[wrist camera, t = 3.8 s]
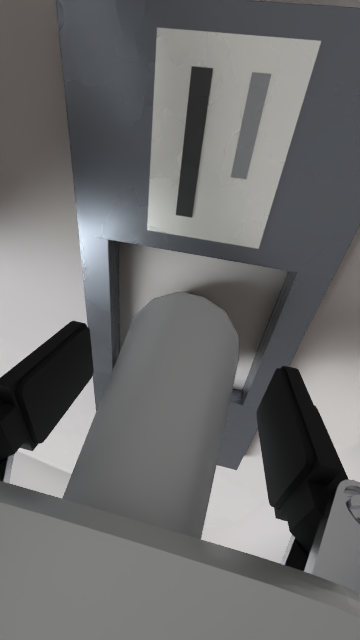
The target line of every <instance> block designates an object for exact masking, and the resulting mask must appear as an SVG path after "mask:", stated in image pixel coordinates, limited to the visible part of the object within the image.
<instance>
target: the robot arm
mask: <svg viewBox="0 0 360 640" xmlns="http://www.w3.org/2000/svg"><path fill="white" fill-rule="evenodd" d="M93 372H94V368H93V358H92V347H91V336H90V329H89V328H88V327H87V325H86V324H85V323H81V322H76V321H72V322H70V323H69V324H67V325H66V326H65V327H64V328H62V329H61V330H60V331H59V332H57V333H56V334H55V335H54V336H52V337H51V338H50V339H49V340H47V341H46V342H45V343H44V344H42V345H41V346H40V347H38V348H37V349H36V350H35V351H33V352H32V353H31V354H30V355H28V356H27V357H26V358H25V359H23V360H22V361H21V362H20V363H18V364H17V365H16V366H15V367H13V368H12V369H11V370H10V371H8V372H7V373H6V374H5V375H3V376H2V377H1V378H0V640H360V482H357V481H354V480H349V479H348V477H347V475H346V473H345V470H344V468H343V466H342V464H341V461H340V459H339V457H338V455H337V452H336V450H335V448H334V445H333V443H332V441H331V439H330V436H329V434H328V432H327V430H326V427H325V425H324V423H323V421H322V418H321V416H320V414H319V412H318V410H317V408H316V406H314V405H313V402H312V400H311V398H310V396H309V393H308V391H307V389H306V386H305V384H304V382H303V379H302V377H301V375H300V372H299V370H298V369H296V368H292V367H287V366H282V367H281V368H277V369H276V370H275V372H274V374H273V377H272V379H271V381H270V383H269V385H268V387H267V389H266V392H265V394H264V396H263V398H262V400H261V402H260V404H259V407H258V409H257V424H258V430H259V437H260V444H261V451H262V458H263V465H264V472H265V478H266V485H267V492H268V499H269V503H270V505H271V506H272V507H274V509H275V516H276V518H277V519H281V520H284V521H288V525H289V530H290V532H291V533H292V536H291V538H290V541H289V544H288V546H287V548H286V551H285V554H284V556H283V558H282V561H281V563H280V564H279V563H276V562H273V561H269V560H267V559H263V558H260V557H257V556H254V555H250V554H248V553H244V552H241V551H237V550H234V549H231V548H227V547H224V546H221V545H217V544H214V543H211V542H207V541H204V540H201V539H197V538H194V537H191V536H187V535H184V534H181V533H177V532H174V531H171V530H167V529H164V528H160V527H157V526H154V525H150V524H147V523H143V522H140V521H137V520H133V519H130V518H126V517H123V516H120V515H116V514H113V513H109V512H106V511H103V510H99V509H96V508H92V507H89V506H85V505H82V504H79V503H75V502H72V501H68V500H65V499H61V498H58V497H54V496H51V495H47V494H44V493H40V492H37V491H33V490H30V489H26V488H23V487H19V486H16V485H13V484H9V481H10V475H11V469H12V463H13V457H14V454H15V453H16V451H17V450H18V449H19V448H23V449H27V450H31V451H33V450H34V449H35V447H36V446H37V445H38V443H42V442H44V440H45V439H46V438H47V437H48V435H49V434H50V433H51V431H52V430H53V429H54V427H55V426H56V425H57V423H58V422H59V421H60V419H61V418H62V417H63V415H64V414H65V413H66V411H67V410H68V409H69V407H70V406H71V405H72V403H73V402H74V401H75V399H76V398H77V396H78V395H79V394H80V392H81V391H82V390H83V388H84V387H85V386H86V384H87V383H88V382H89V380H90V379H91V378H92V376H93Z"/></svg>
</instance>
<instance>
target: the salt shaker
mask: <svg viewBox="0 0 360 640" xmlns="http://www.w3.org/2000/svg"><path fill="white" fill-rule="evenodd" d="M238 360H239V337H238V334H237V332H236V330H235V328H234V326H233V324H232V323H231V321H230V319H229V317H228V315H227V313H226V311H224V310H223V309H221V308H220V307H218V306H217V305H215V304H214V303H212V302H211V301H209V300H208V299H206V298H205V297H202V296H197V295H191V294H189V293H186V292H176V293H172V294H169V295H165V296H161V297H157V298H154V299H153V300H151V301H150V302H149V303H148V304H147V305H146V306H145V307H144V308H143V309H142V310H141V311H139V312H138V313H137V314H136V315H135V316H134V317H133V320H132V322H131V325H130V327H129V330H128V333H127V335H126V338H125V340H124V343H123V345H122V348H121V350H120V353H119V356H118V358H117V361H116V363H115V366H114V368H113V371H112V373H111V376H110V378H109V381H108V384H107V386H106V389H105V391H104V394H103V396H102V399H101V401H100V404H99V407H98V409H97V412H96V414H95V417H94V419H93V422H92V424H91V427H90V429H89V432H88V435H87V437H86V440H85V442H84V445H83V447H82V450H81V452H80V455H79V457H78V460H77V463H76V465H75V468H74V470H73V473H72V475H71V478H70V480H69V483H68V486H67V488H66V491H65V493H64V496H63V498H62V499H65V500H68V501H72V502H75V503H79V504H82V505H85V506H89V507H92V508H96V509H99V510H103V511H106V512H109V513H113V514H116V515H120V516H123V517H126V518H130V519H133V520H137V521H140V522H143V523H147V524H150V525H154V526H157V527H160V528H164V529H167V530H171V531H174V532H177V533H181V534H184V535H187V536H191V537H194V538H197V539H201V535H202V530H203V526H204V521H205V517H206V512H207V507H208V502H209V498H210V493H211V488H212V483H213V479H214V474H215V469H216V464H217V460H218V455H219V450H220V445H221V441H222V436H223V431H224V427H225V422H226V417H227V412H228V408H229V403H230V398H231V393H232V389H233V384H234V379H235V374H236V370H237V365H238Z"/></svg>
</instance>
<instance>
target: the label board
mask: <svg viewBox="0 0 360 640" xmlns="http://www.w3.org/2000/svg"><path fill="white" fill-rule="evenodd" d="M56 6H57V16H58V26H59V37H60V47H61V57H62V67H63V77H64V88H65V98H66V108H67V118H68V128H69V138H70V149H71V159H72V169H73V179H74V189H75V200H76V210H77V220H78V230H79V240H80V250H81V261H82V271H83V281H84V291H85V301H86V312H87V322H88V328H89V329H90V336H91V347H92V358H93V368H94V372H93V383H94V393H95V403H96V412H97V409H98V407H99V404H100V401H101V399H102V396H103V394H104V391H105V389H106V386H107V384H108V381H109V378H110V376H111V373H112V371H113V368H114V366H115V363H116V361H117V358H118V356H119V353H120V338H119V260H118V241H120V242H126V243H132V244H138V245H143V246H149V247H155V248H160V249H166V250H172V251H178V252H183V253H189V254H195V255H201V256H206V257H212V258H218V259H224V260H229V261H235V262H241V263H247V264H252V265H258V266H264V267H270V268H275V269H281V270H287V271H289V272H288V274H287V277H286V279H285V282H284V284H283V287H282V290H281V292H280V295H279V297H278V300H277V302H276V305H275V308H274V310H273V313H272V315H271V318H270V320H269V323H268V326H267V328H266V331H265V333H264V336H263V338H262V341H261V344H260V346H259V349H258V351H257V354H256V356H255V359H254V362H253V364H252V367H251V369H250V372H249V374H248V377H247V380H246V382H245V385H244V387H243V390H242V391H238V390H234V389H232V393H231V398H230V403H229V408H228V412H227V417H226V422H225V427H224V431H223V436H222V441H221V445H220V450H219V455H218V460H217V464H216V465H219V466H223V467H227V468H231V469H235V470H237V468H238V466H239V464H240V462H241V460H242V458H243V456H244V454H245V452H246V450H247V448H248V446H249V444H250V442H251V440H252V438H253V436H254V434H255V432H256V430H257V428H258V424H257V409H258V407H259V404H260V402H261V400H262V398H263V396H264V394H265V392H266V389H267V387H268V385H269V383H270V381H271V379H272V377H273V374H274V372H275V370H276V369H277V368H281V367H282V366H287V367H288V366H289V364H290V362H291V361H292V359H293V357H294V355H295V353H296V351H297V349H298V347H299V345H300V343H301V341H302V339H303V337H304V335H305V333H306V331H307V329H308V327H309V325H310V323H311V321H312V319H313V317H314V315H315V313H316V311H317V309H318V307H319V305H320V303H321V301H322V299H323V297H324V295H325V293H326V291H327V289H328V287H329V285H330V283H331V281H332V279H333V277H334V275H335V273H336V271H337V269H338V267H339V265H340V263H341V261H342V259H343V257H344V255H345V253H346V251H347V249H348V247H349V245H350V243H351V241H352V239H353V237H354V235H355V233H356V231H357V229H358V227H359V225H360V8H355V7H340V6H325V5H310V4H295V3H280V2H265V1H250V0H56Z"/></svg>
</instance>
